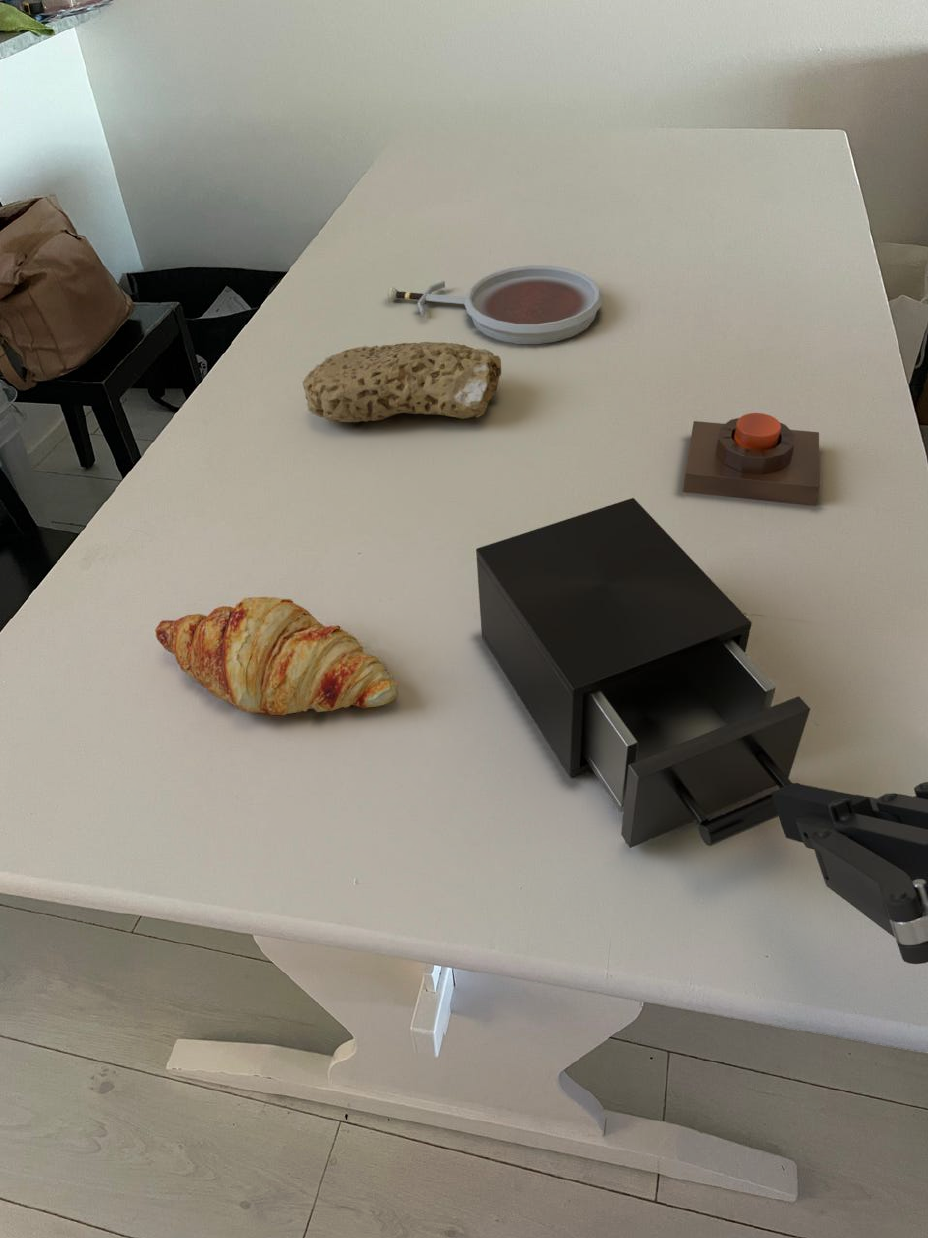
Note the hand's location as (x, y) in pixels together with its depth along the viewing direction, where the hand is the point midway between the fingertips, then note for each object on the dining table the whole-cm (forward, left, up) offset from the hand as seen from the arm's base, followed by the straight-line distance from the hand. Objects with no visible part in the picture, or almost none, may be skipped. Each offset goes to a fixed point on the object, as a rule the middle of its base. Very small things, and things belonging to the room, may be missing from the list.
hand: (789, 810), depth 52 cm
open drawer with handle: (+7, -9, -9) cm, 14 cm away
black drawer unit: (+13, -17, -10) cm, 23 cm away
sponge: (+40, -51, -10) cm, 65 cm away
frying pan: (+36, -75, -10) cm, 83 cm away
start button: (+3, -46, -6) cm, 46 cm away
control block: (+3, -46, -10) cm, 47 cm away
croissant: (+38, -11, -10) cm, 41 cm away
